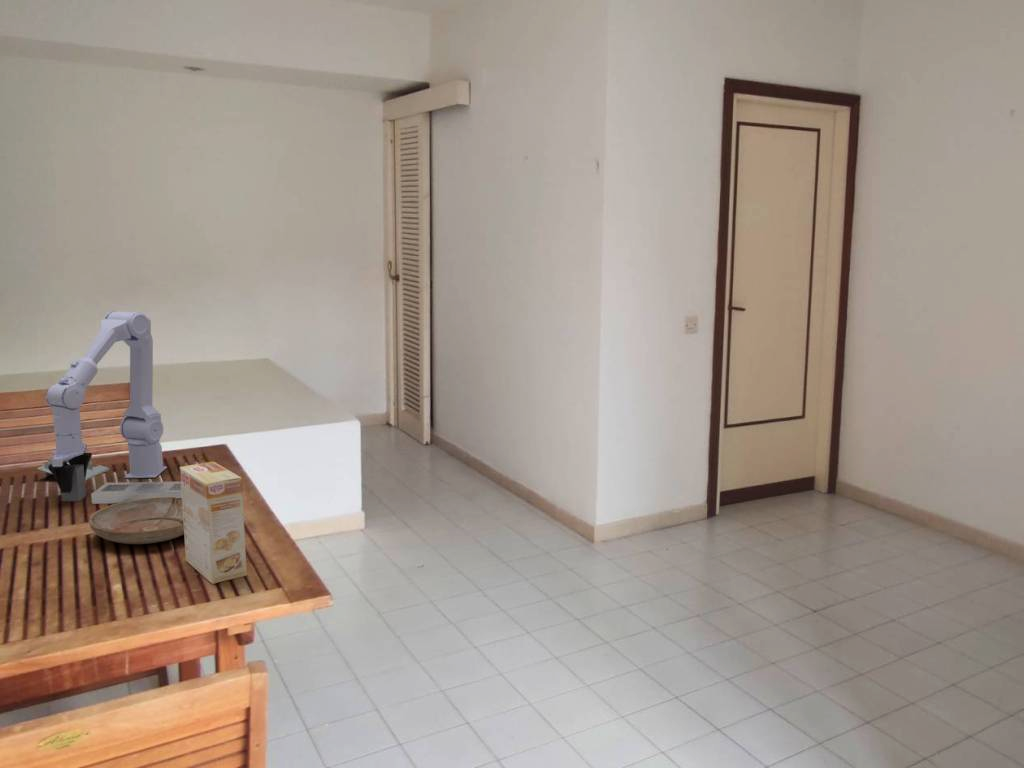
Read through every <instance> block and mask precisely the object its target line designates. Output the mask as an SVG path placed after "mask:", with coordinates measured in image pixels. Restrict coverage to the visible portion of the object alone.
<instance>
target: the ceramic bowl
mask: <svg viewBox="0 0 1024 768" xmlns="http://www.w3.org/2000/svg"><path fill="white" fill-rule="evenodd" d="M88 522H89V525H90V528H91V530H92V532H94V533H95V535H97V536H99V537H100V538H102V539H104V540H107V541H111V542H112V543H113V542H114V543H117V544H125V545H148V544H156V543H163V542H167V541H170V540H173V539H176V538H179V537H182V536H184V524H183V509H182V498H175V497H156V498H145V499H137V500H131V501H126V502H122V503H113V504H110V505H108V506H106V507H103V508H100V509H99V510H96V511H95V512H93V514H91V516H90V517H89V519H88Z"/></svg>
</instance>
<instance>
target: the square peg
mask: <svg viewBox="0 0 1024 768" xmlns="http://www.w3.org/2000/svg"><path fill="white" fill-rule="evenodd" d="M60 493H61V492H60ZM86 496H87V490H86V481H85V477H84V466H83V465H76V466H75V468H74V471H73V476H72V490H71V492H70V493H61V501H62V502H80V501H82V500H83V499H84V498H85V497H86Z"/></svg>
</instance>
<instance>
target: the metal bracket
mask: <svg viewBox="0 0 1024 768" xmlns="http://www.w3.org/2000/svg"><path fill="white" fill-rule="evenodd" d="M52 459H53V458H48V459H47V461H46V462H44V464H43V465H41V466H39V467H37V468H36V469H37V470H38V471H41V472H44V478H47V477H49V476H52V475H53V474H52V473H51V471H50V470H49V468H48V466H49V465H50V464H52ZM67 463H68V465H70V464H69V462H68V461H67ZM109 470H110V468H109V467H107V466H104V465H102V464H101V465H97V466H94V465H93V462H92V461H89V464H88V467H87V472H86V478H85V482H86V481H88V480H90V479H92V478H94V477H96V476H98V475H100V474H102V473H106V472H107V471H109Z"/></svg>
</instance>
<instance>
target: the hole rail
mask: <svg viewBox="0 0 1024 768" xmlns="http://www.w3.org/2000/svg"><path fill="white" fill-rule="evenodd" d="M156 497H175V498H182V494H181V480H180V481H137V482H136V481H133V482H131V481H127V482H105V483H104V484H102V485H101V486H100V487H98V488H97V489H96V490H94V491H93V492H92V493H90V498H91V504H92V505H95V504H96V505H98V504H99V505H100V504H101V505H102V504H107V505H109V504H110V505H112V504H118V503H122V502H126V501H131V500H137V499H145V498H156Z"/></svg>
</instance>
